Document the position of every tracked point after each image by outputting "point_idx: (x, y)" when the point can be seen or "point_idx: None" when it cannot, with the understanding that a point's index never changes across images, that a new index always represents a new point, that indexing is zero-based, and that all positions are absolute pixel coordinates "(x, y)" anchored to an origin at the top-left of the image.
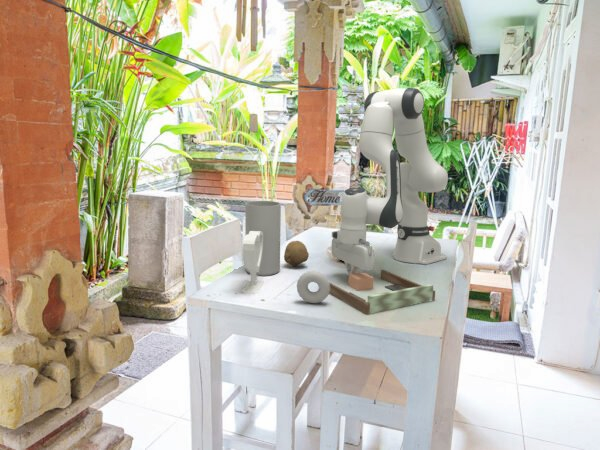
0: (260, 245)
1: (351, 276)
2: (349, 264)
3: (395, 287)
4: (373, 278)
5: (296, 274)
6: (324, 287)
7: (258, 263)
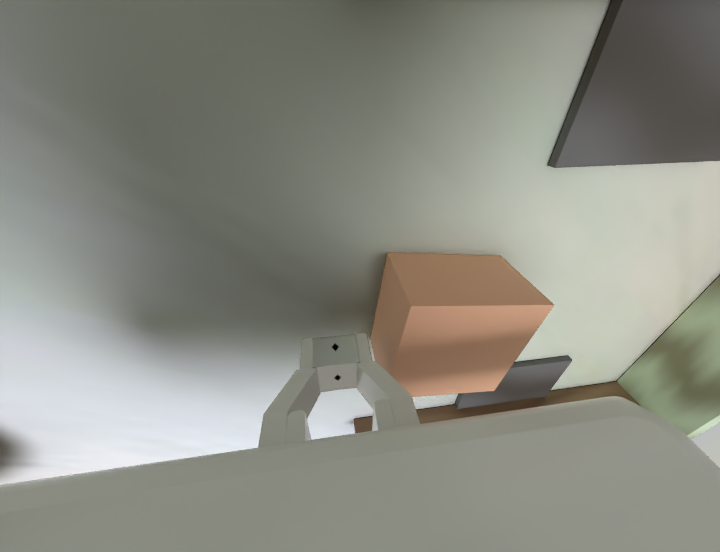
0: None
1: (418, 391)
2: (308, 433)
3: (646, 98)
4: (547, 301)
5: (134, 454)
6: None
7: None
